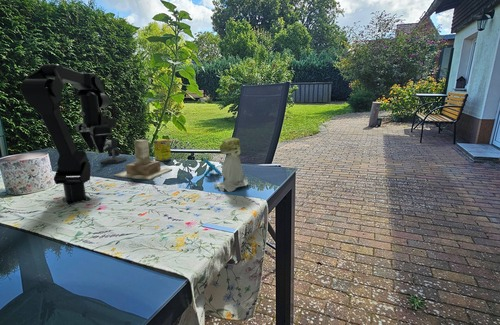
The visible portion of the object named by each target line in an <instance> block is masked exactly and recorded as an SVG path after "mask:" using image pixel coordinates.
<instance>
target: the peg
mask: <svg viewBox="0 0 500 325" xmlns="http://www.w3.org/2000/svg"><path fill="white" fill-rule="evenodd" d="M133 143H134V154H135V155H134V156H135V162H136V164H138V165H146V164H149V163H150V161H151V159H150V147H149V140H148V139H137V140H133Z"/></svg>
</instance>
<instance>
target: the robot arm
mask: <svg viewBox="0 0 500 325" xmlns="http://www.w3.org/2000/svg"><path fill="white" fill-rule="evenodd" d="M64 83H67V84H71V85H72V87H73V88H75V89H76V90H78V91H77V93H76V96H77V97H79V103H80V108H81V111H80V112H79V114H80V116H81V117H82V122H79V123H77V124H76V125H75V131H76V132H77V133H78V135H79V136H80V137H81V139H82V140H83V142H84V143H85V144H86V146H87V147H88V149H89V151H90V150H91V151H93V150H94V146H95V148H96V150H97V151H98V153H99V154H102V153H103V152H104V150H103V148H104V143H105V139H106V138H107V139H108V137H109V136H111V134H112V133H113V131H112V130H113V129H112V128H115V129H116V128H117V127H116V126H117V123H118V119H116V118H112V117H111V116H110V115H106V114H104V113H103V112H102V111H100V109H104V108H107V107H108V106H109V105H110V101H111V100H110V98H109V96H108V95H107V94H105V89H104V86H103V84H102V83H101V80H100V78H99V76H98V75H97V74H96V73H95V72H79V71H76V70H73V69H71V68H68V67H65V66H63V65H60V63H59V64H58V63H57V64H56V63H48V64H47V63H44V64H42V65H40V67H38V69H36V70H35V71H33V72H32V73H30V74H28V75H26V77H25V78H24V79H23V81H22V83H21V84H20V86H19V90H20V94H21V95H22V98H24V101H26V103H27V105H29V106H30V108H32V109H34V110H35V111H36V112H38V113H39V115H40V116H41V119H42V121H43V123H44V126H45V127H46V129H47V131H48V133H49V135H50V138H51V140H52V142H53V145H54V146H55V149H56V151H57V153H58V158H57V161H56V165H57V170H56V171H55V175H54V177H53V181H54V183H55V185H63V190H64V195H65V196H64V197H62V199H61V200H62V201H63V202H64V203H65V204H67V205H72V204H76V203H80V202H81V203H82V202H85V201H89V200H90V199H91V196H88V195H87V194H86V188H85V183H87V182H89V181H90V180H91V171H92V170H91V163H90V162H89V161H90V159H89V158H88V156H87V153H86V151H85V150H78V148H77V146H76V144H75V142H74V140H73V137H72V134H71V132H70V130H69V127H68V126H67V125H68V124H67V123H66V119H65V118H64V116H63V113H62V111H61V109H60V106H61V104H62V100H63V96H62V92H63V90H64V88H65V84H64ZM107 139H106V140H107Z"/></svg>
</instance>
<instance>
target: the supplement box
mask: <svg viewBox="0 0 500 325" xmlns="http://www.w3.org/2000/svg"><path fill="white" fill-rule="evenodd" d="M170 141H171V140H170V139H168V138H167V139H166V138H162V139H161V138H160V139H154V140H153V148H154V149H153V150H154V161H160V163H163V162H167V161H171V160H172V156H171V154H172V153H171V142H170Z"/></svg>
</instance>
